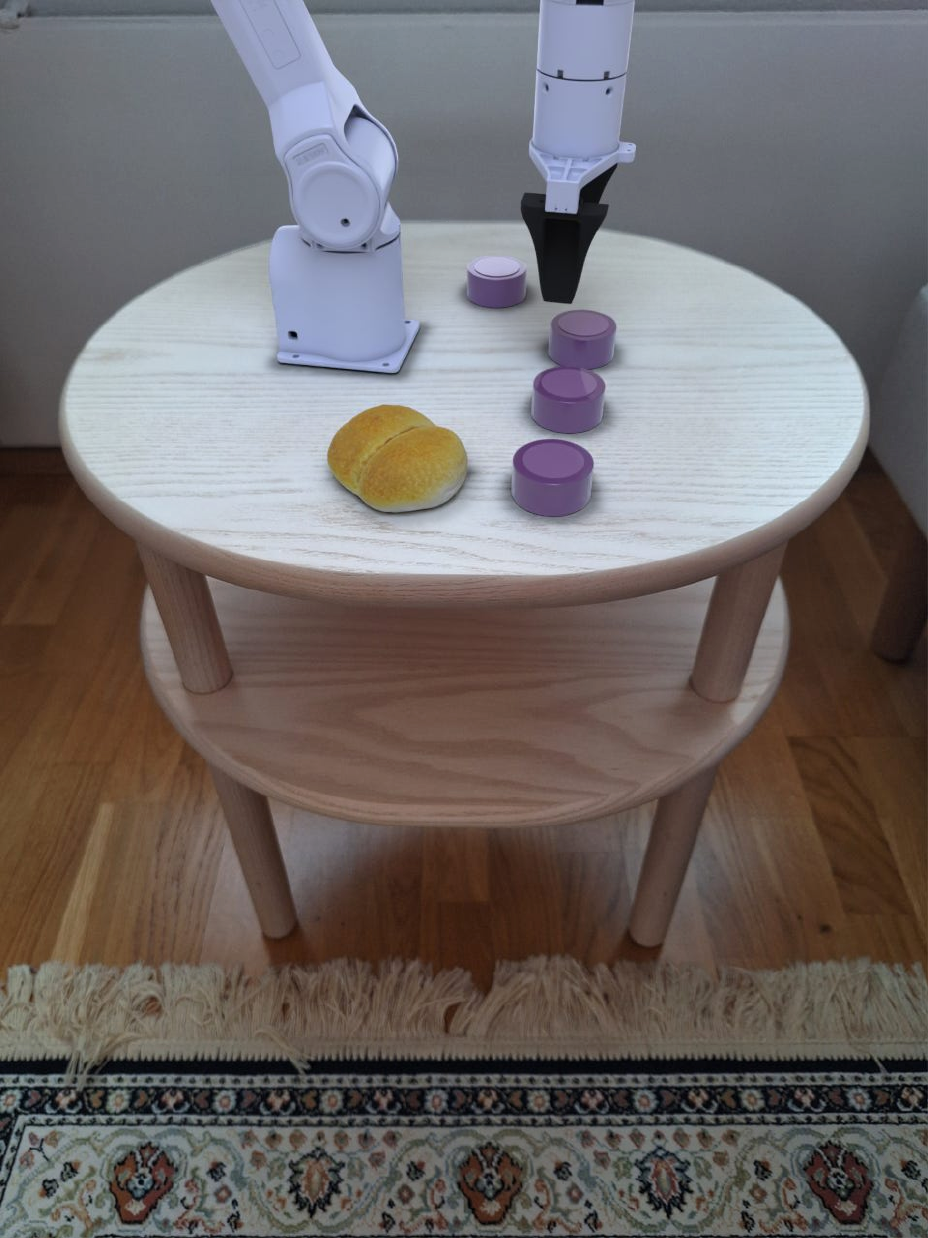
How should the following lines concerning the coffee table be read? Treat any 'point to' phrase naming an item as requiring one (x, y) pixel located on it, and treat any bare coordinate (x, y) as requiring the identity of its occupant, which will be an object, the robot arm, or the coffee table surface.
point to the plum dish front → (552, 477)
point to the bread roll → (397, 459)
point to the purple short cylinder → (496, 281)
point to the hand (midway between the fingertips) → (564, 277)
